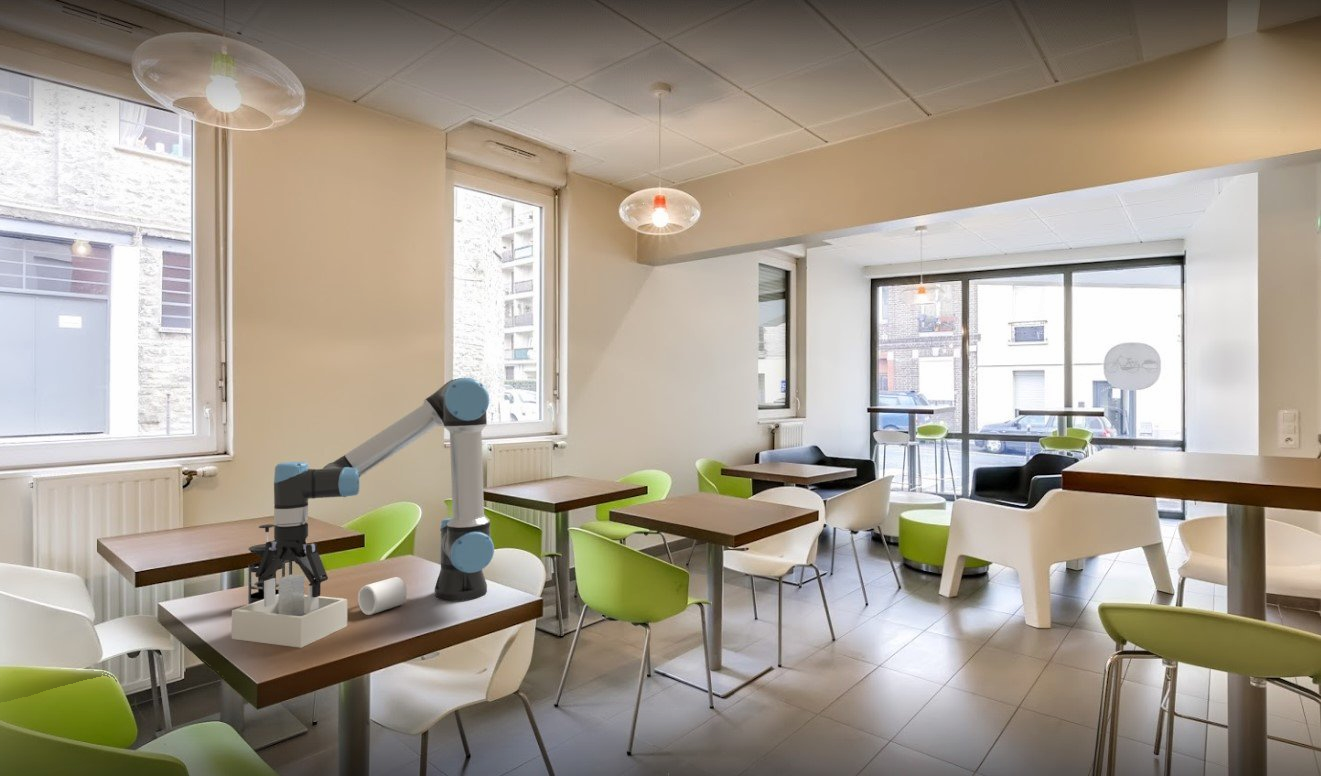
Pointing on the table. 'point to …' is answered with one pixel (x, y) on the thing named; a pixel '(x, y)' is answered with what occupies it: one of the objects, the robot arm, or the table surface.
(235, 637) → the box
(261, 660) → the table surface
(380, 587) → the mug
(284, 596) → the peg
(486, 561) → the robot arm
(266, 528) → the french press
